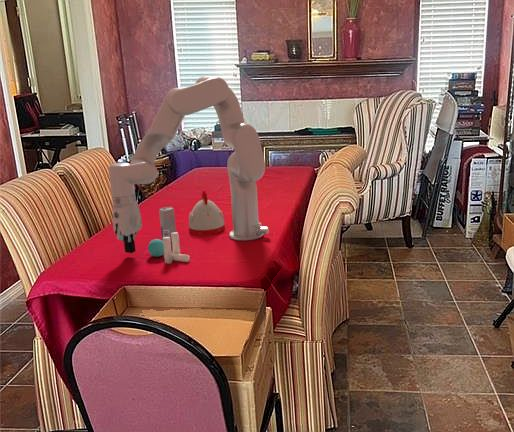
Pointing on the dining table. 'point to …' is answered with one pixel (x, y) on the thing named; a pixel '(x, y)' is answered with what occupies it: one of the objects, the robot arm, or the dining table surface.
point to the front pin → (180, 257)
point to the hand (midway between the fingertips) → (130, 251)
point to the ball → (156, 247)
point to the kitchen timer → (205, 217)
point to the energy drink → (167, 221)
